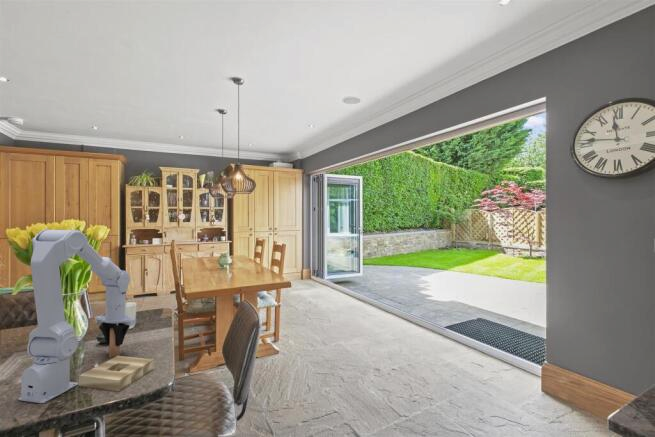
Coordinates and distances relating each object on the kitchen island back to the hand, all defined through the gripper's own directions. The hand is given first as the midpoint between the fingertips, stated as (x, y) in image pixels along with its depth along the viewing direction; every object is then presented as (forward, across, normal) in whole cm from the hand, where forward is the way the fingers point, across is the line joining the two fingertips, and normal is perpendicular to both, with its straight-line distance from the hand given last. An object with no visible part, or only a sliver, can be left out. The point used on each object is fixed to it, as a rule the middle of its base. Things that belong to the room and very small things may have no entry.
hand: (114, 344), depth 107 cm
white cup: (+4, +19, -25) cm, 32 cm away
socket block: (+4, -13, +12) cm, 18 cm away
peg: (+4, 0, 0) cm, 4 cm away
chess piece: (+4, +12, -8) cm, 15 cm away
